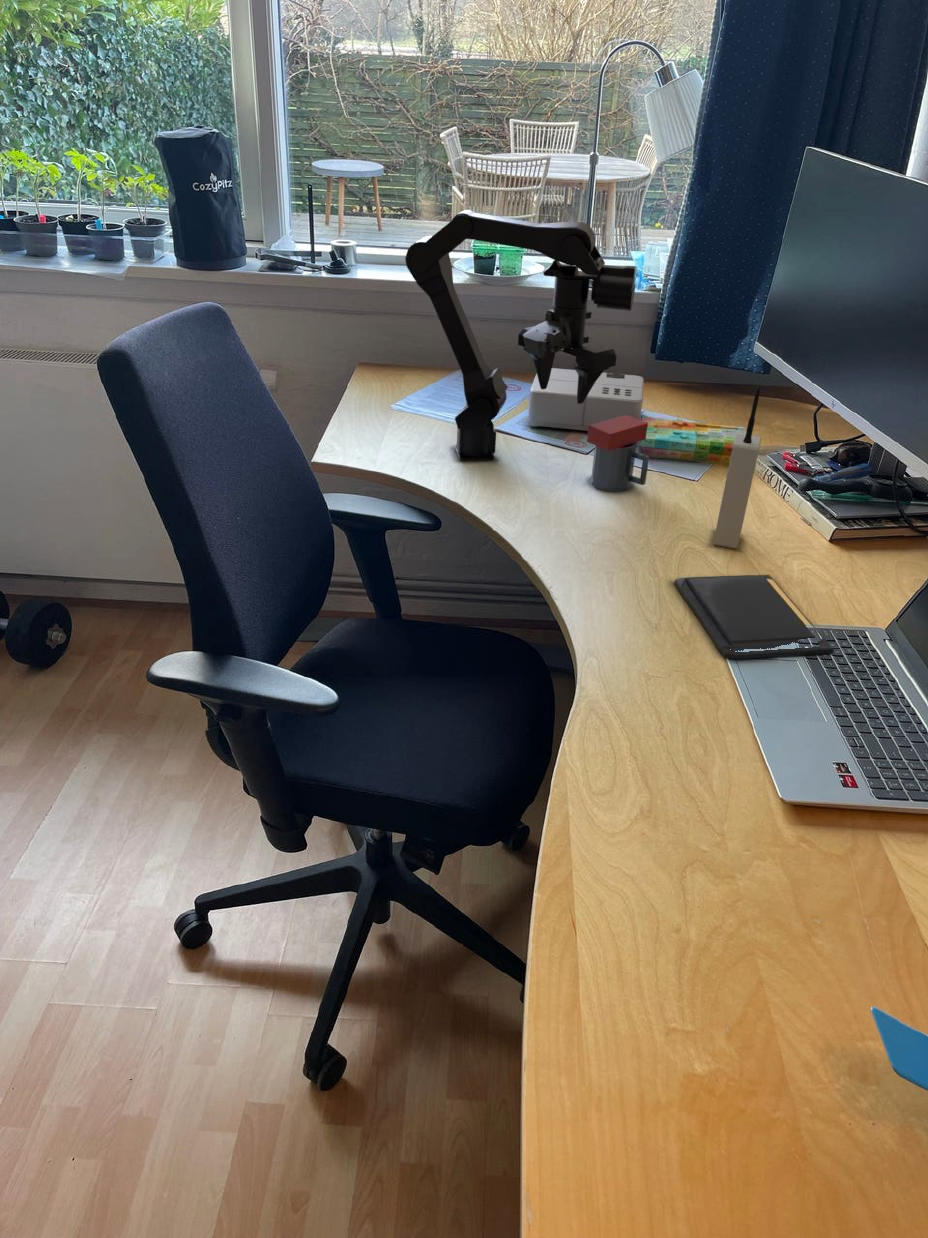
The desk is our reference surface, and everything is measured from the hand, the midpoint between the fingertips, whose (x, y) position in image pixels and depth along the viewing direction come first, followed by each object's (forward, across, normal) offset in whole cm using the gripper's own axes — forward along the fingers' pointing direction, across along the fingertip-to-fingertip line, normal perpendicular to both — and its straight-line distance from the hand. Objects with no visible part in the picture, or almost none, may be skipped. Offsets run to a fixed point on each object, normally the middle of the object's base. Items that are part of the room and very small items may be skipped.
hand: (561, 395), depth 162 cm
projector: (+13, -14, +22) cm, 29 cm away
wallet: (+13, +54, -15) cm, 57 cm away
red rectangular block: (+5, +12, +2) cm, 13 cm away
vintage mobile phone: (+13, +38, +1) cm, 40 cm away
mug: (+13, +13, +3) cm, 19 cm away
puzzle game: (+13, +10, +26) cm, 31 cm away
